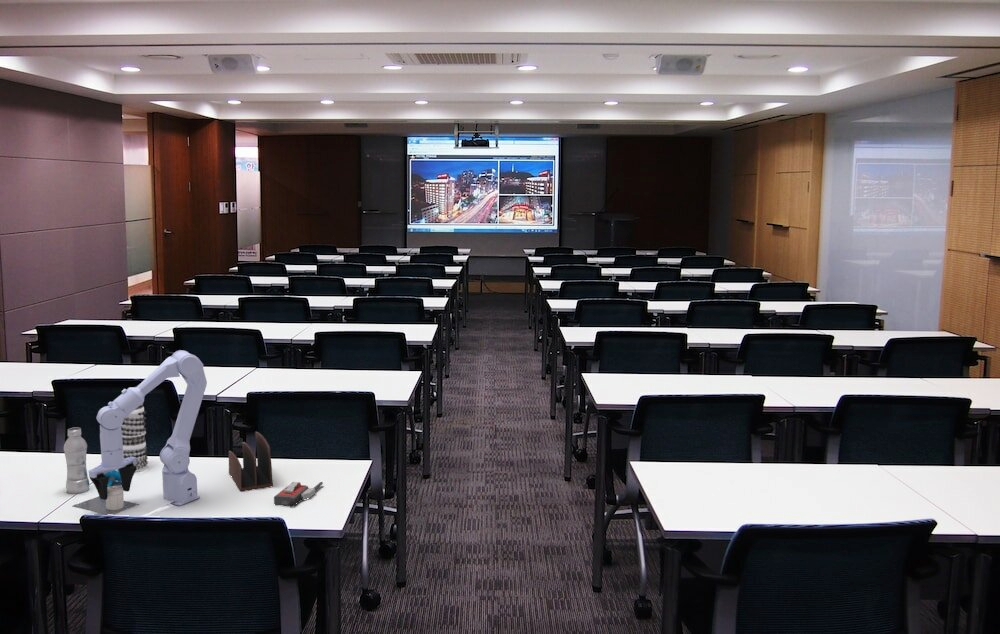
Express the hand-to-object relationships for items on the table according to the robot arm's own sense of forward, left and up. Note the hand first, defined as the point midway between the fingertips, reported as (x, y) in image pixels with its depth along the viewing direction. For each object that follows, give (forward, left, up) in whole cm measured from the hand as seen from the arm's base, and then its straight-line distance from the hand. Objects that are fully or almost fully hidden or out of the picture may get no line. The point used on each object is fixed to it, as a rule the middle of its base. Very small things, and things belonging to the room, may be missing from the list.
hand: (114, 494), depth 251 cm
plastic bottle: (+22, -5, -5) cm, 23 cm away
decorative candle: (+27, -30, -5) cm, 41 cm away
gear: (+18, -14, -5) cm, 23 cm away
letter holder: (-15, -39, -5) cm, 42 cm away
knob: (0, 0, -4) cm, 4 cm away
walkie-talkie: (-38, -34, -5) cm, 51 cm away
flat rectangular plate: (+4, 0, -5) cm, 6 cm away
